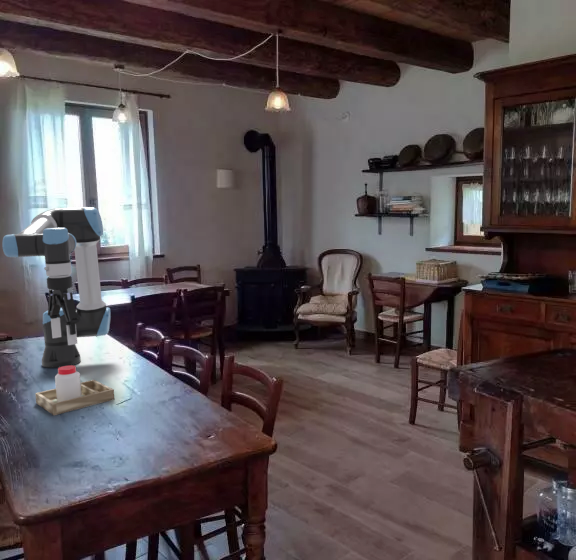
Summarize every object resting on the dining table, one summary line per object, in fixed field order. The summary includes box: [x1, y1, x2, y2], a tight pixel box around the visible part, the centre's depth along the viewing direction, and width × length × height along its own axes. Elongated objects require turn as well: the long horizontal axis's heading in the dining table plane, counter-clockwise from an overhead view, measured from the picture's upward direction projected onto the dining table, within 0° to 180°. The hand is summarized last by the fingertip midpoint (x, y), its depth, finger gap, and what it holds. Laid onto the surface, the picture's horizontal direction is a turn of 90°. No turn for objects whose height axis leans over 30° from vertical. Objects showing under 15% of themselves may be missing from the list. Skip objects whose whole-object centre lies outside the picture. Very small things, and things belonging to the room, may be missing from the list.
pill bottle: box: [54, 365, 82, 402], centre depth 186 cm, size 8×8×11 cm
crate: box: [34, 379, 116, 416], centre depth 188 cm, size 16×20×4 cm
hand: (64, 340), depth 185 cm, fingers open, 13 cm apart
